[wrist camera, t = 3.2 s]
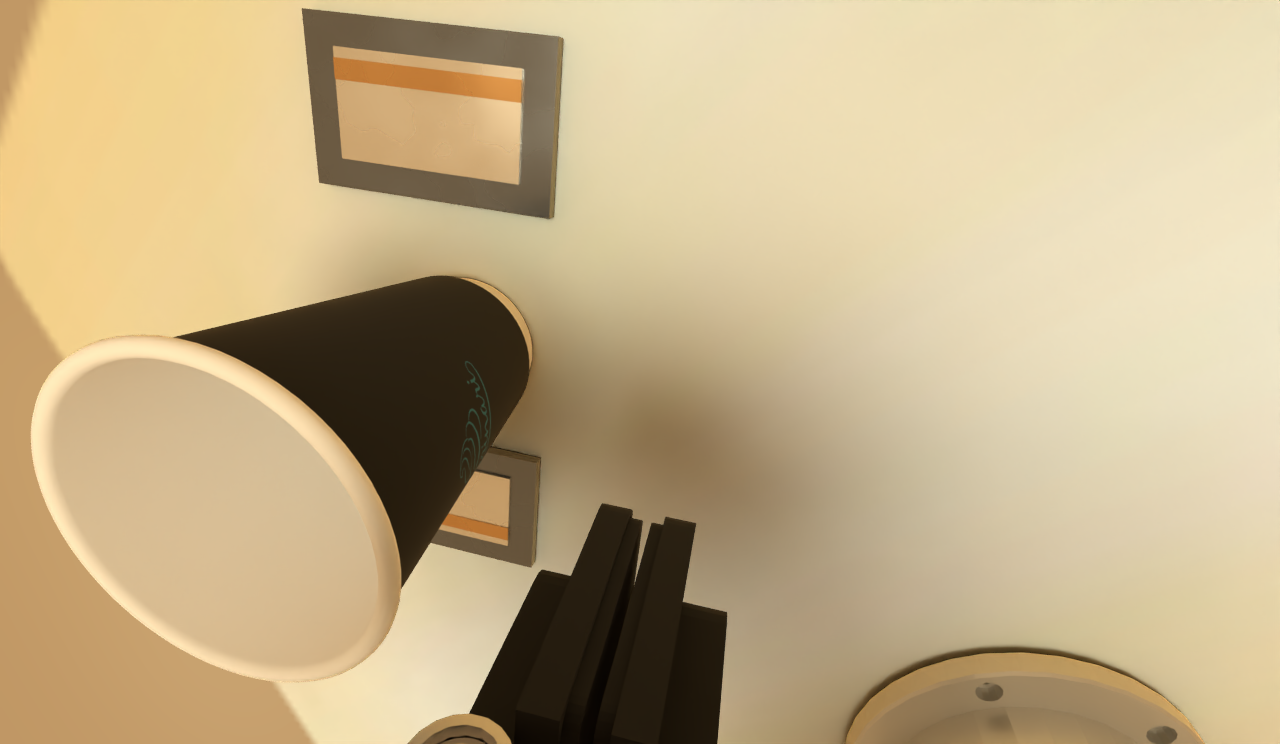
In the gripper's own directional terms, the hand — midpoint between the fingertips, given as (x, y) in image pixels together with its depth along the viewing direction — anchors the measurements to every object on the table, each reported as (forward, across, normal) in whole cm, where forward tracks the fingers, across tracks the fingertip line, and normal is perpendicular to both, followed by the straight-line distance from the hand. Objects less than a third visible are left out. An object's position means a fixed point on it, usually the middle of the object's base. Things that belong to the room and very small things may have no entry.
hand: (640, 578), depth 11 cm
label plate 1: (+11, +9, -6) cm, 15 cm away
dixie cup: (+11, +8, +1) cm, 14 cm away
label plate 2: (+10, +9, +8) cm, 16 cm away
